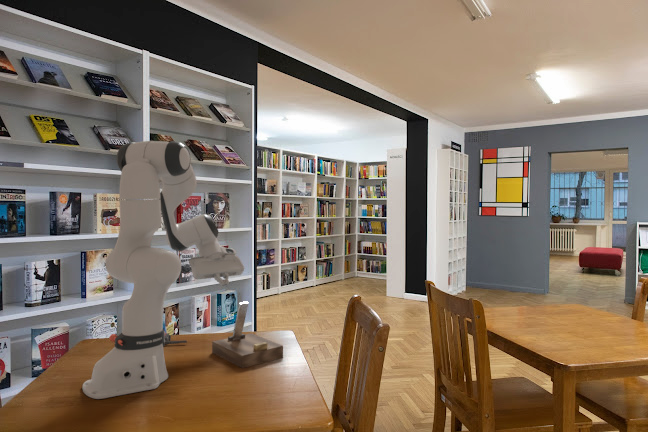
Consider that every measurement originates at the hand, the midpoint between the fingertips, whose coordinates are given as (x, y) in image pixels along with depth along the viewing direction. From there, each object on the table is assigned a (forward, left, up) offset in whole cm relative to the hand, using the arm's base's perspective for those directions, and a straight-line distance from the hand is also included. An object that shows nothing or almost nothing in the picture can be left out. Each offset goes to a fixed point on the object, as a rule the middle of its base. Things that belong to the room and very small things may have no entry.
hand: (225, 284), depth 162 cm
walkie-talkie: (-17, +17, -23) cm, 34 cm away
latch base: (0, -15, -22) cm, 27 cm away
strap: (0, -11, -12) cm, 16 cm away
